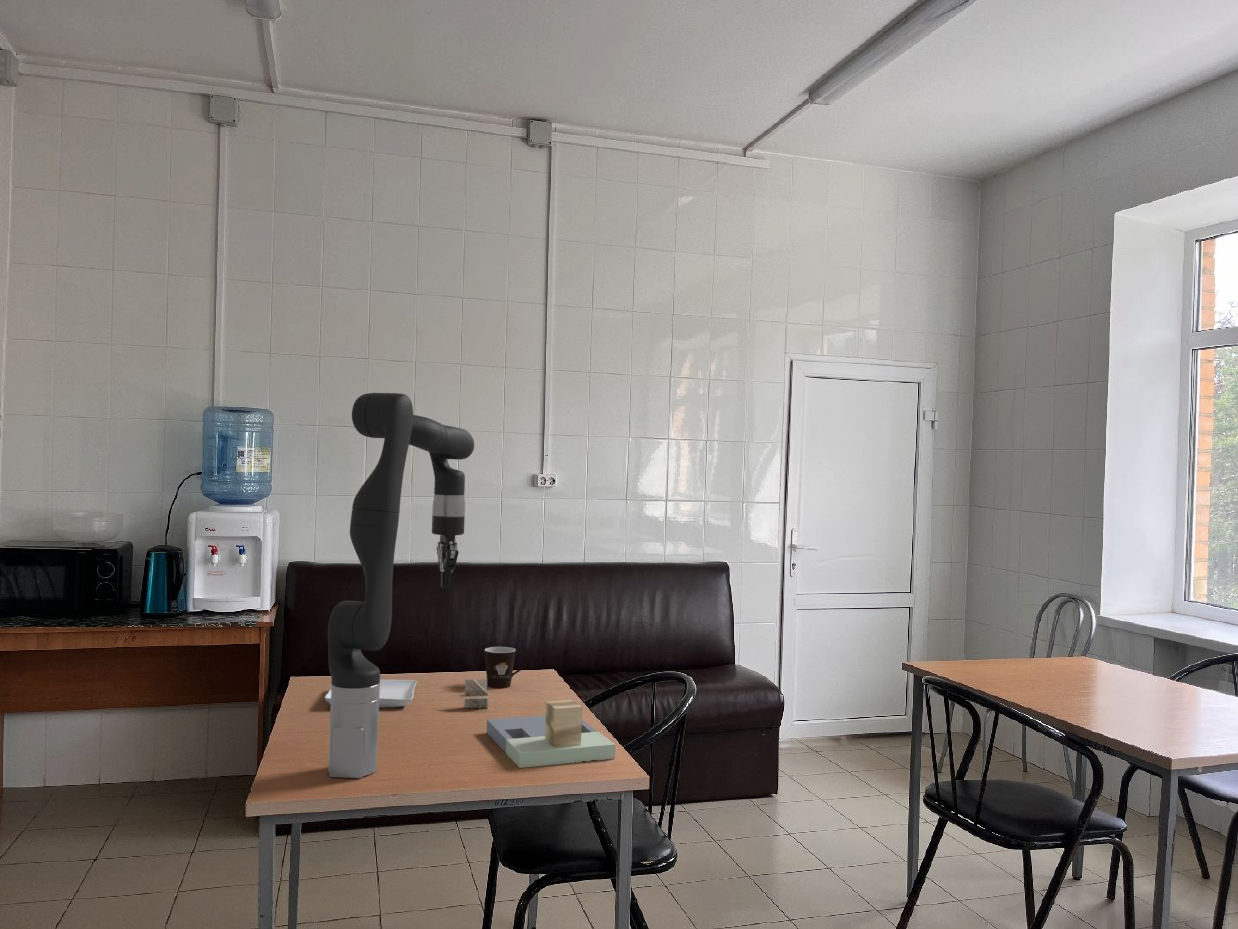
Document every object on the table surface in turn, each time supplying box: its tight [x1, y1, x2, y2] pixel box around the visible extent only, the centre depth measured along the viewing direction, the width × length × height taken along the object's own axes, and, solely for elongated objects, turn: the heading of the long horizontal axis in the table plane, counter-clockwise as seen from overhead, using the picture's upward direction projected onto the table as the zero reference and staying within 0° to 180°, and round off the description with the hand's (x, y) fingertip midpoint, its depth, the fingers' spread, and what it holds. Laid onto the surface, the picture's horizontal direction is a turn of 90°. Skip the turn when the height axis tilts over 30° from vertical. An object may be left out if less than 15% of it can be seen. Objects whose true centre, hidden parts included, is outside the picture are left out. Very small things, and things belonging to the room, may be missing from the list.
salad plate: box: [324, 678, 418, 709], centre depth 237 cm, size 21×21×3 cm
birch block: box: [545, 699, 583, 747], centre depth 195 cm, size 6×6×8 cm
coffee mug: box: [484, 646, 529, 690], centre depth 256 cm, size 12×9×10 cm
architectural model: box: [459, 678, 489, 710], centre depth 231 cm, size 3×7×7 cm, turn 102°
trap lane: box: [486, 714, 616, 769], centre depth 203 cm, size 26×21×3 cm
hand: (446, 587), depth 216 cm, fingers closed
